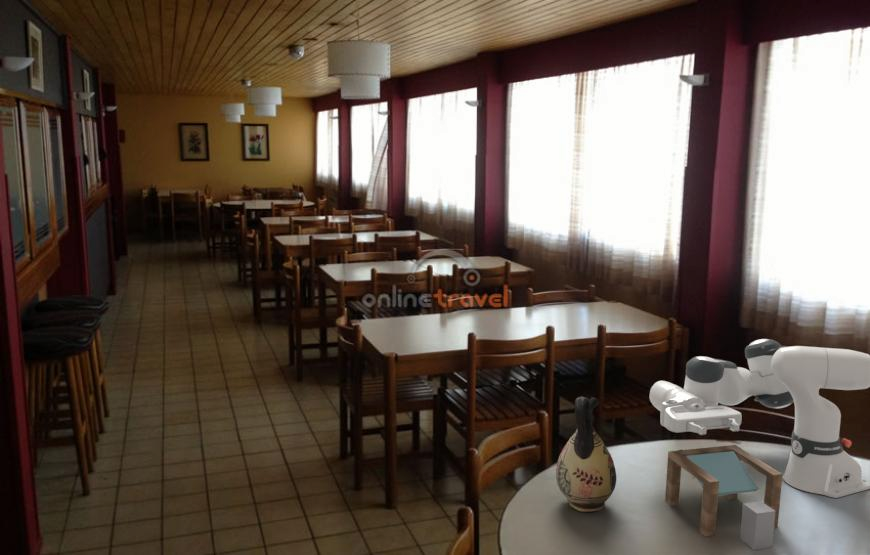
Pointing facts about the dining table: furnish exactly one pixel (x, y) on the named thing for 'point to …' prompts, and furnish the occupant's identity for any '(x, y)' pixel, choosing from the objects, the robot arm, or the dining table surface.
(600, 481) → the ceramic jug
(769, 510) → the light grey block
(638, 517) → the dining table surface
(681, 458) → the trapdoor frame
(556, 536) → the dining table surface
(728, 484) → the trapdoor
